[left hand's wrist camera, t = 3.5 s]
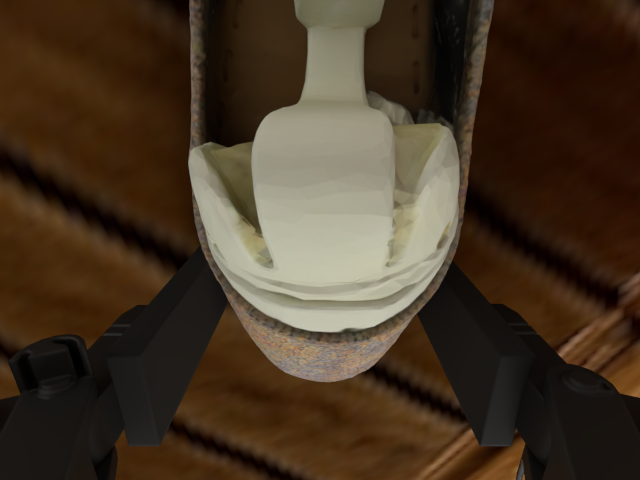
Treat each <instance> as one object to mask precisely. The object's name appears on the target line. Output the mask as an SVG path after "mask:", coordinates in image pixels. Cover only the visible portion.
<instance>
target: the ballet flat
mask: <svg viewBox="0 0 640 480" xmlns="http://www.w3.org/2000/svg"><path fill="white" fill-rule="evenodd" d="M493 5H494V0H190V4H189V10H190V31H191V59H190V60H191V91H192V93H191V141H190V149H189V161H188V165H189V172H190V178H191V184H192V196H193V208H194V217H195V219H194V220H195V224H196V228H197V233H198V237H199V240H200V243H201V247H202V250H203V252H204V255H205V257H206V259H207V261H208V263H209V265H210V268H211V269H212V271H213V273H214V275H215V277H216V279H217V280H218V282H219V283H220V285H221V286H222V288H223V290H224V292H225V294H226V296H227V298H228V301H229V302H230V304H231V306H232V308H233V309H234V311H235V313H236V314H237V316H238V318H239V320H240V321H241V323H242V325H243V327H244V328H245V330H246V331H247V332H248V334H249V335H250V337H251V338H252V339H253V341H254V342H255V343H256V344H257V346H258V347H259V348H260V349H261V351H262V352H263V353H264V354H265V355H266V357H267V358H268V359H269V360H270V361H271V362H272V363H273V364H275V365H276V366H277V367H278V368H279V369H281V370H282V371H284V372H286V373H288V374H291V375H293V376H297V377H300V378H303V379H307V380H313V381H318V382H324V381H325V382H332V381H333V382H335V381H339V380H343V379H346V378H351V377H353V376H355V375H357V374H359V373H361V372H364V371H366V370H367V369H369V368H370V367H372V366H373V365H375V363H376V362H377V361H378V360H379V359H380V358H381V357H382V356H383V355H384V354H385V352H386V351H387V350H388V349H389V348H390V347H391V346H392V345H393V344H394V343H395V342H396V340H397V338H398V337H399V335H400V334H401V333H402V331H403V330H404V329H405V328H406V327H407V325H408V324H409V322H410V321H411V320H412V318H413V317H414V315H415V314H416V313H418V312H419V311H420V309H421V308H422V307H423V306H424V305H425V304H426V303H427V302H428V301H429V299H430V298H431V297H432V296H433V294H434V293H435V292H436V291H437V289H438V288H439V286H440V284H441V282H442V280H443V278H444V276H445V274H446V272H447V270H448V268H449V266H450V264H451V261H452V259H453V257H454V254H455V252H456V249H457V246H458V242H459V238H460V230H461V226H462V223H463V214H464V204H465V200H466V191H467V186H468V173H469V165H470V157H471V153H472V151H471V142H472V133H473V126H474V121H475V113H476V108H477V101H478V97H479V91H480V86H481V82H482V73H483V65H484V60H485V55H486V45H487V36H488V31H489V27H490V23H491V18H492V12H493Z"/></svg>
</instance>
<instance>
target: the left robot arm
mask: <svg viewBox="0 0 640 480" xmlns="http://www.w3.org/2000/svg"><path fill="white" fill-rule="evenodd" d="M226 306H227V299H226V294H225V292H224V290H223V288H222V286H221V285H220V283H219V282H218V280H217V279H216V277H215V275H214V273H213V271H212V269H211V268H210V265H209V263H208V261H207V259H206V257H205V255H204V252H203V250H202V247H201V246H200V247H199V248H198V249H197V250H196V251H195V252H194V253H193V255H192V256H191V257H190V258H189V259H188V260H187V261H186V263H185V264H184V265H183V266H182V267H181V268H180V269H179V271H178V272H177V273H176V274H175V275H174V276H173V277H172V279H171V280H170V281H169V282H168V283H167V284H166V285H165V287H164V288H163V289H162V290H161V291H160V292H159V293H158V294H157V296H156V297H155V298H154V299H153V300H152V301H151V302H150V304H149V305H137V306H135V307H134V308H132V309H130V310H128V311H127V312H125V313H123V314H122V315H121V316H120V317H119V318H118V319H117V320H116V321H115V322H114V323H113V324H112V327H109V328H108V329H107V330H106V332H105V333H104V334H103V336H101V337H100V338H99V339H98V340H97V341H96V342H95V343H94V344H93V345H92V346H91V347H90V348H89V349H88V350H87V348H86V345H85V341H84V339H83V338H81V337H80V336H78V335H70V334H67V335H58V336H53V337H50V338H46V339H43V340H40V341H38V342H35V343H33V344H31V345H29V346H27V347H25V348H24V349H22V350H21V351H19V352H18V353H16V354H15V355H14V356H13V357H12V358H11V359H10V360H9V362H8V363H9V366H10V368H11V371H12V373H13V376H14V378H15V381H16V383H17V386H18V388H19V391H20V393H21V394H20V395H19V396H15V397H10V398H5V399H1V400H0V480H115V476H116V468H117V461H118V457H117V451H116V447H115V443H116V441H117V440H118V438H119V436H120V435H121V433H122V431H123V430H125V434H126V438H127V441H128V445H129V446H160V444H161V442H162V440H163V438H164V436H165V434H166V432H167V430H168V427H169V425H170V423H171V421H172V419H173V417H174V415H175V413H176V411H177V409H178V406H179V404H180V402H181V400H182V398H183V396H184V394H185V392H186V390H187V388H188V385H189V383H190V381H191V379H192V377H193V375H194V373H195V371H196V369H197V367H198V364H199V362H200V360H201V358H202V356H203V354H204V352H205V350H206V348H207V346H208V343H209V341H210V339H211V337H212V335H213V333H214V331H215V329H216V327H217V325H218V322H219V320H220V318H221V316H222V314H223V312H224V310H225V308H226ZM417 315H418V317H419V319H420V321H421V323H422V325H423V327H424V329H425V331H426V334H427V336H428V338H429V340H430V342H431V344H432V346H433V348H434V350H435V352H436V355H437V357H438V359H439V361H440V363H441V365H442V367H443V369H444V371H445V373H446V376H447V378H448V380H449V382H450V384H451V386H452V388H453V390H454V392H455V394H456V397H457V399H458V401H459V403H460V405H461V407H462V409H463V411H464V413H465V415H466V418H467V420H468V422H469V424H470V426H471V428H472V430H473V432H474V434H475V436H476V439H477V441H478V443H479V445H480V446H511V444H512V440H513V436H514V433H515V429H517V430H518V432H519V433H520V435H521V437H522V438H523V440H524V441H525V443H526V444H525V447H524V451H523V454H522V458H521V461H520V464H519V468H518V471H517V476H516V480H522V478H523V475H525V480H640V398H637V397H633V396H628V395H624V394H620V393H619V392H618V391H617V389H616V388H615V387H614V386H613V384H611V383H610V382H609V381H608V380H606V379H605V378H604V377H602V376H601V375H599V374H597V373H595V372H593V371H591V370H589V369H586V368H583V367H580V366H577V365H573V364H567V363H566V362H565V361H564V360H563V359H562V358H561V357H560V356H559V355H558V354H557V353H556V352H555V351H554V350H553V349H552V348H551V347H550V346H549V345H548V344H547V343H546V342H545V341H544V339H543V338H542V337H541V336H540V335H537V332H536V331H535V330H534V329H533V328H532V327H531V326H528V323H527V322H526V321H525V320H524V319H523V318H522V317H521V316H520V315H519V314H518V313H517V312H515V311H513V310H512V309H510V308H508V307H507V306H505V305H503V304H490V303H489V302H488V301H487V299H486V298H485V297H484V296H483V295H482V294H481V293H480V291H479V290H478V289H477V288H476V287H475V286H474V285H473V283H472V282H471V281H470V280H469V279H468V278H467V277H466V275H465V274H464V273H463V272H462V271H461V270H460V269H459V268H458V266H457V265H456V264H455V263H454V262H453V261H451V264H450V266H449V268H448V270H447V272H446V274H445V276H444V278H443V280H442V282H441V284H440V286H439V288H438V289H437V291H436V292H435V293H434V294H433V296H432V297H431V298H430V299H429V301H428V302H427V303H426V304H425V305H424V306H423V307H422V308H421V309H420V311H419V312H418V313H417Z"/></svg>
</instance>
